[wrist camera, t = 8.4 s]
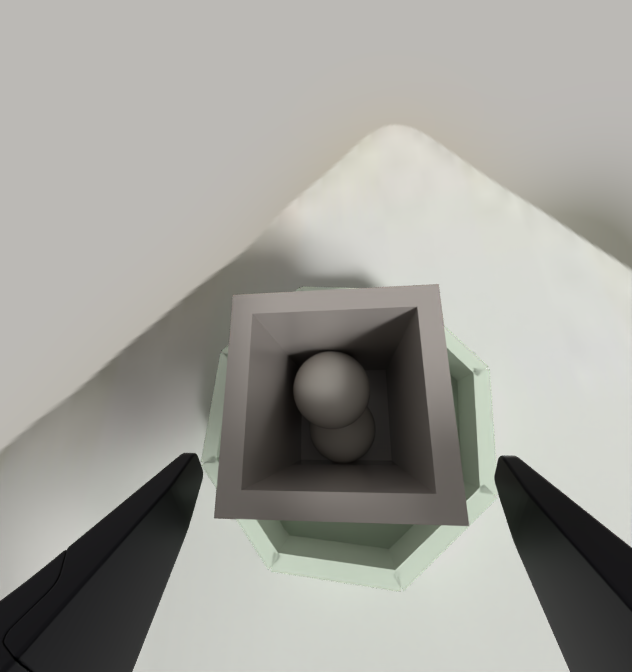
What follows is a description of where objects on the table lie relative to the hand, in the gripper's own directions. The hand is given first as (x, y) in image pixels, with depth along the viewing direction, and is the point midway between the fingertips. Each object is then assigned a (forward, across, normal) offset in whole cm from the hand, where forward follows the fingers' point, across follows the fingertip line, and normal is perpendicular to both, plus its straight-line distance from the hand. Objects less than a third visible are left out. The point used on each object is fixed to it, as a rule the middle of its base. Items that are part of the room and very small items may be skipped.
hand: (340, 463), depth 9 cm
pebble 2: (+4, 0, +3) cm, 5 cm away
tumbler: (+6, 0, +4) cm, 7 cm away
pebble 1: (+3, 0, 0) cm, 3 cm away
